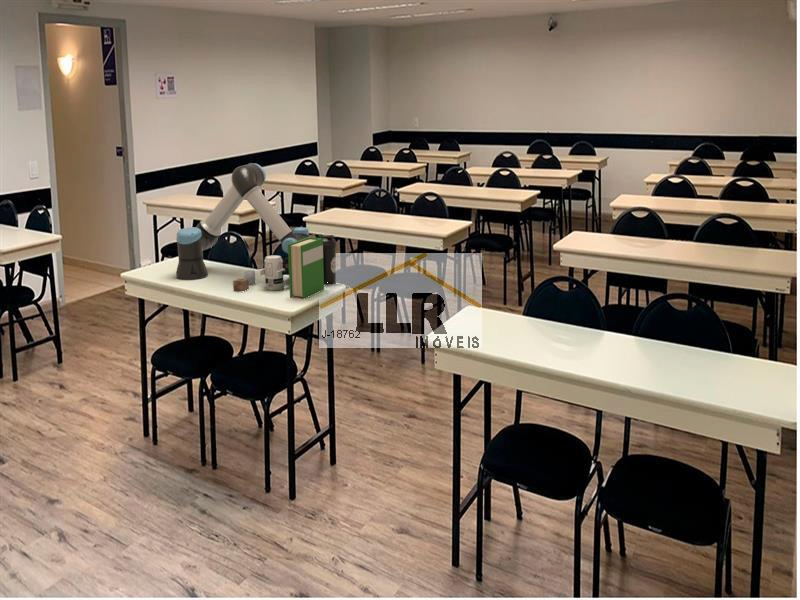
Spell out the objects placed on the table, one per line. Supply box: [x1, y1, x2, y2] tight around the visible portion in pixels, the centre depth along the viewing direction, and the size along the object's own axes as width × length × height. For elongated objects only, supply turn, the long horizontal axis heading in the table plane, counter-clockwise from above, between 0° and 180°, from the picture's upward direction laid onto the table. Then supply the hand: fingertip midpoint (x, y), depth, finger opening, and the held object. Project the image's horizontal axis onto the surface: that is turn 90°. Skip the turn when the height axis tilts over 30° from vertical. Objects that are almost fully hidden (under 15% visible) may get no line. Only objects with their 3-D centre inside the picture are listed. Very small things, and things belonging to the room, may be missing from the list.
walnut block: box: [232, 277, 250, 292], centre depth 341 cm, size 5×5×5 cm
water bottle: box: [316, 234, 338, 286], centre depth 352 cm, size 10×10×23 cm
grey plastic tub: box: [243, 270, 257, 286], centre depth 352 cm, size 5×5×6 cm
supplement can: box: [264, 254, 285, 291], centre depth 343 cm, size 8×8×15 cm
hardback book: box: [287, 236, 325, 299], centre depth 333 cm, size 18×7×24 cm, turn 156°
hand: (268, 273), depth 338 cm, fingers closed on supplement can, 8 cm apart
